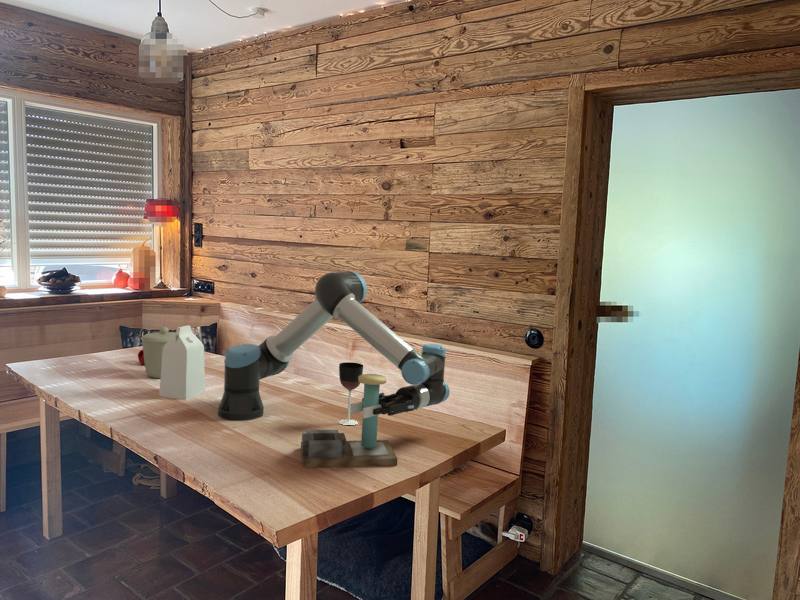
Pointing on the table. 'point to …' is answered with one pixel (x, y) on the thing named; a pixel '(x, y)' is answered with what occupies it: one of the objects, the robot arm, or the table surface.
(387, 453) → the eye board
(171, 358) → the milk
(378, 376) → the disc-capped post
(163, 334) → the canister
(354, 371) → the wineglass
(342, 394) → the table surface
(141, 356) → the pomegranate
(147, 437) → the table surface
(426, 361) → the robot arm
